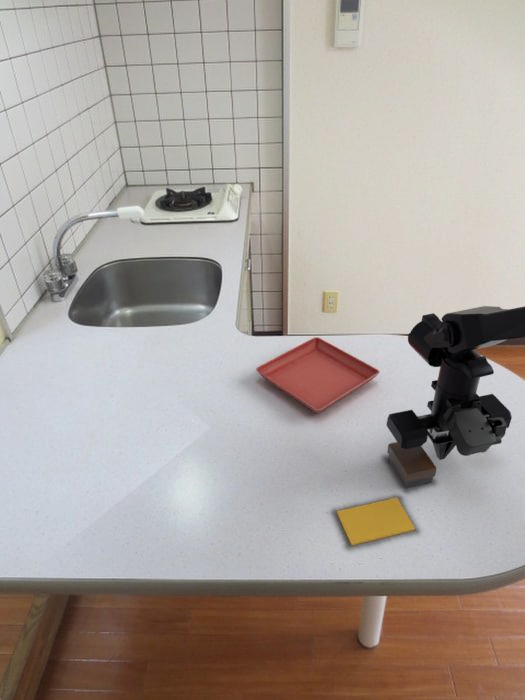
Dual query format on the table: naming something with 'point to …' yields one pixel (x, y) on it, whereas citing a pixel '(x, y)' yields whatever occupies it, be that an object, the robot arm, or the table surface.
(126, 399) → the table surface
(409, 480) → the brown rectangular block
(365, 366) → the plant saucer
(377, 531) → the cloth
